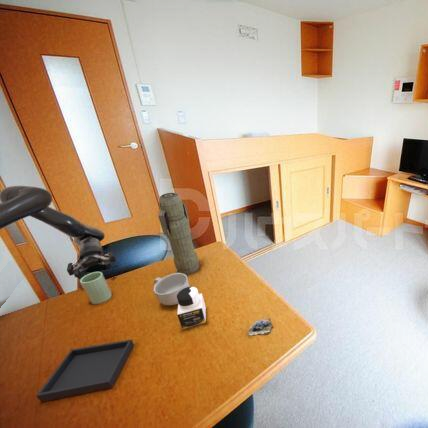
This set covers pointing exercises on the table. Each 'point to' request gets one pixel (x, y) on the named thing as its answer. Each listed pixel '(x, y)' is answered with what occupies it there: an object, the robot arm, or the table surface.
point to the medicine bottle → (191, 307)
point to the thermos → (178, 232)
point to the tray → (87, 370)
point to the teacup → (170, 287)
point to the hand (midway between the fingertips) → (93, 271)
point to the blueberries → (260, 327)
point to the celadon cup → (96, 287)
